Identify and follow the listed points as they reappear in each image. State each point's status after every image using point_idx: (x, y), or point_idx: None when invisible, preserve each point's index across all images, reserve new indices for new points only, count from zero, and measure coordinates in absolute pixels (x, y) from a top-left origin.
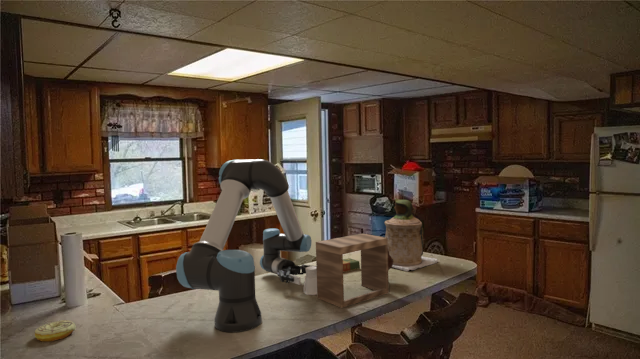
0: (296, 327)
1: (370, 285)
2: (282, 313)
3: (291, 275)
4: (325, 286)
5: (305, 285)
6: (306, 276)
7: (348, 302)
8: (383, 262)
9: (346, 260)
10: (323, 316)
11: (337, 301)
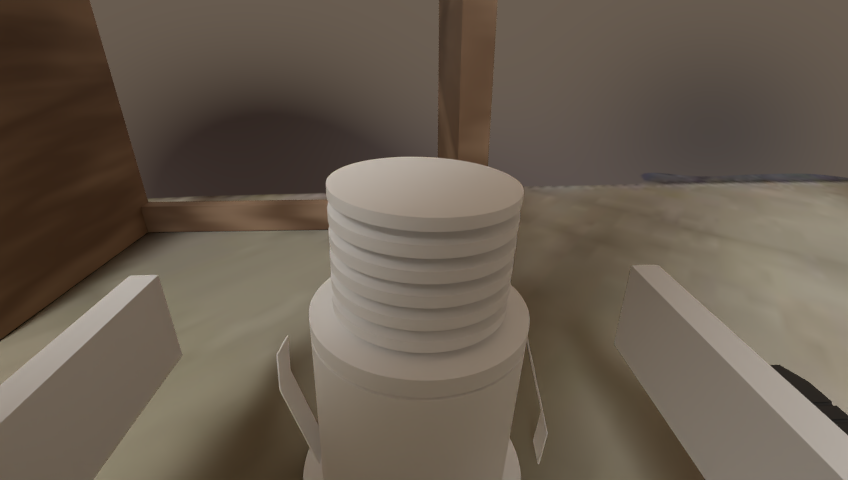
0: (700, 203)
1: (66, 266)
2: (783, 282)
3: (810, 402)
4: None
5: (512, 417)
6: (507, 303)
7: None
8: (92, 57)
9: None
10: (567, 211)
11: None
